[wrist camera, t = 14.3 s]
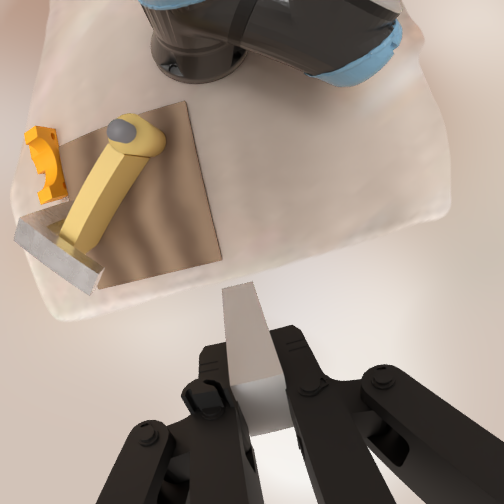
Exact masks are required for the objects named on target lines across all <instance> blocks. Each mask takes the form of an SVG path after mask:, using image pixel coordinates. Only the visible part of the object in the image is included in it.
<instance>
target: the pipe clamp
mask: <svg viewBox="0 0 504 504" xmlns="http://www.w3.org/2000/svg"><path fill="white" fill-rule="evenodd" d="M24 135H25V141H26V145H29V148H30V153H31V158H32V160H33V162H34V164H35V166H36V169H37V172H38V174H44V173H46V181H45V185H44V188H43V189H42V190H41V191H40V192H38V197H39V200H40V204H41V205H42V204H45V203H48V202H52V201H55V200H59V199H62V198H63V197H65V196H67V195H68V192H67V188H66V184H65V179H64V175H63V170H62V165H61V159H60V154H59V148H58V147H59V144H58V140H57V135H56V130H55V129H52V128H46V127H40V126H34V127H33V128H32V129H30V130H29V131H27V132H26V133H24Z"/></svg>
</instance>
